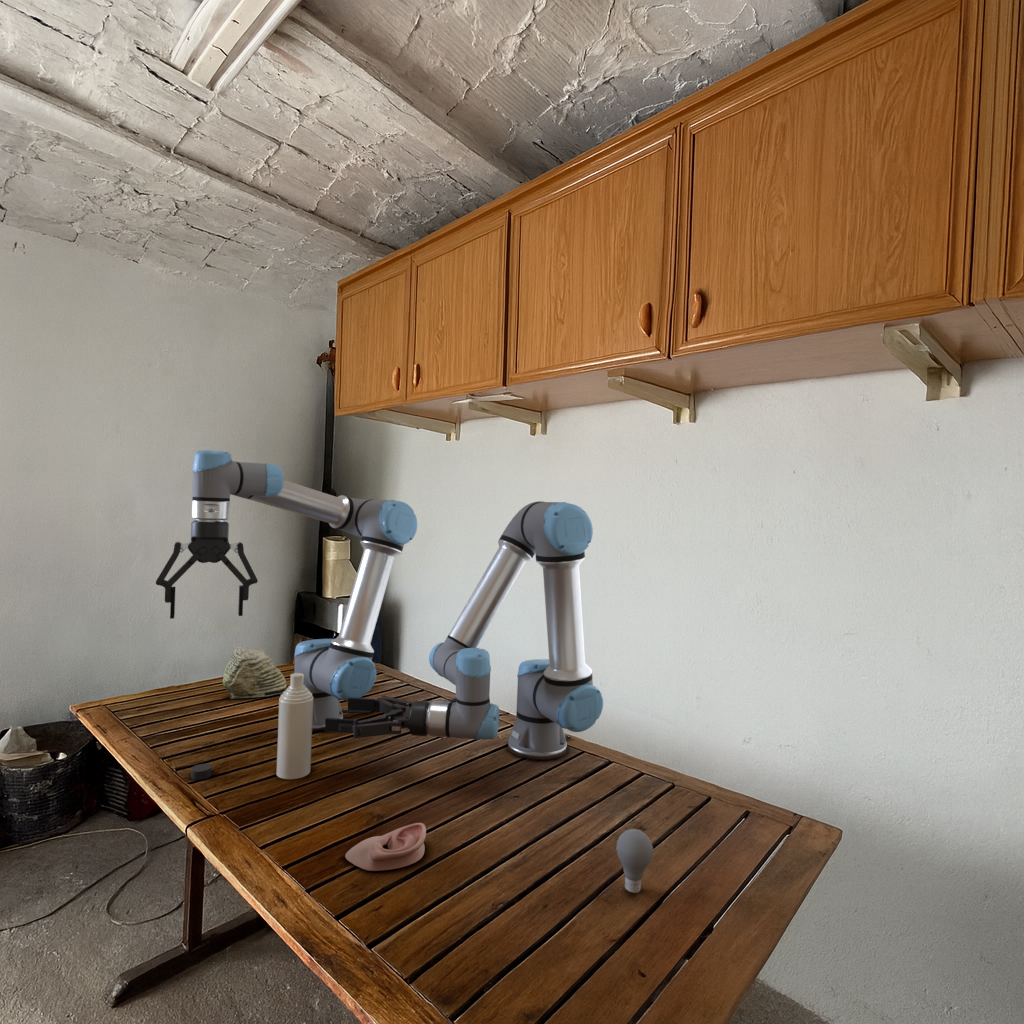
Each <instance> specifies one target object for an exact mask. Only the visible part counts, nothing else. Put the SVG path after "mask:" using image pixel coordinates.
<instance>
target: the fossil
mask: <svg viewBox="0 0 1024 1024" xmlns="http://www.w3.org/2000/svg"><path fill="white" fill-rule="evenodd" d="M222 676H223V677H222V685H223V687H224V688H225V690H226V691H228V693H229V698H230V699H250V698H264V697H271V696H275V695H281V694H283V692H284V691H286V689H287V688H288V686H287V680H286V678H285V676H284V674H283V673H282V672H281V669H279V668H278V667H277V665H276V663H275V662H274V660H273V659H272V658H271V657H270V656H269V655H268V654H267V653H266V652H265V650H264V649H263V648H260V647H258V648H251V647H247V646H246V647H245V646H238V647H237V648H236V649H235V650H233V651H232V653H231V656H230V657H229V659H228V660H227V663H226V666H225V668H224V671H223V675H222Z"/></svg>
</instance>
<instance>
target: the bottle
mask: <svg viewBox="0 0 1024 1024" xmlns="http://www.w3.org/2000/svg"><path fill="white" fill-rule="evenodd" d="M289 679H290V683H289V685H288V686H287V687H286V690H285V691H284V692H283V693H280V697H279V698H278V717H277V719H278V720H277V743H276V744H277V745H276V769H275V770H276V771H275V774H276V777H278V778H279V779H282V780H296V779H301V778H304V777H306V776H308V775H309V774H310V773H311V768H312V746H313V745H312V744H313V743H312V741H313V732H312V721H313V696H312V693H311V692H310V691H309V690H308V689H307V688H306V687H305V685H303V683H304V674H303V673H294V672H293V673H291V674H290V678H289Z"/></svg>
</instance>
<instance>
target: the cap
mask: <svg viewBox="0 0 1024 1024" xmlns="http://www.w3.org/2000/svg"><path fill="white" fill-rule="evenodd" d="M212 770H213V766H212V764H209V763H199V764H195V765H193V766H192V767H191V769H190V779H191V780H193V781H194V780H195V781H201V780H207V779H208V778H209V779H210V777H212V774H213V773H212V772H213V771H212Z"/></svg>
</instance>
